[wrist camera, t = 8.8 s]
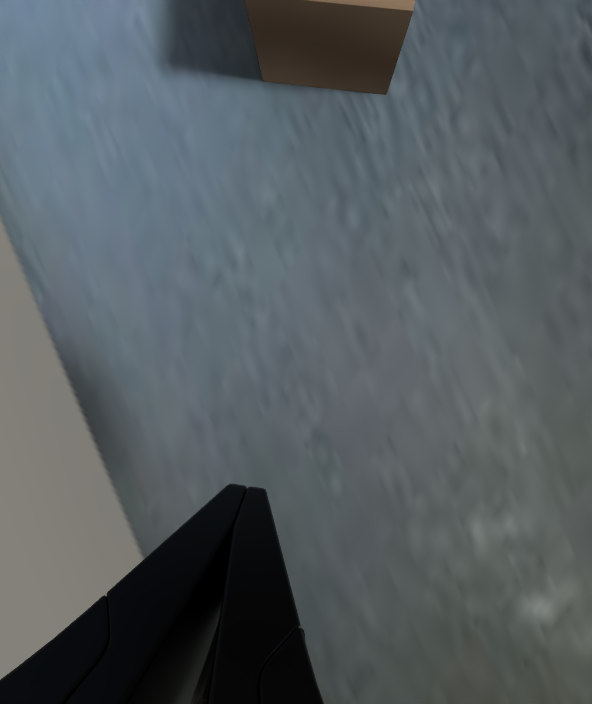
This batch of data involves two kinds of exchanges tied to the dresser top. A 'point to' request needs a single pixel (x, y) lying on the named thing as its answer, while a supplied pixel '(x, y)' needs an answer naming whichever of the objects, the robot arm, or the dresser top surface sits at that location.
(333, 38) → the cardboard box
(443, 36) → the dresser top surface
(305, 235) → the dresser top surface
